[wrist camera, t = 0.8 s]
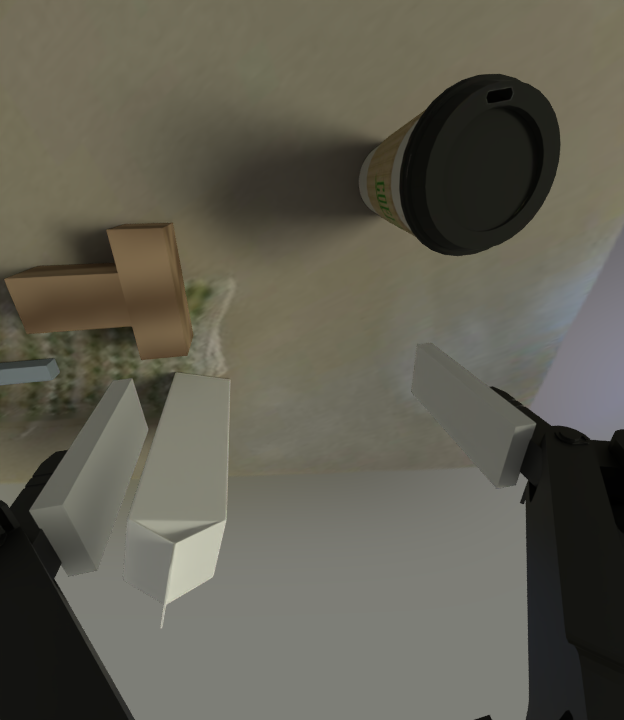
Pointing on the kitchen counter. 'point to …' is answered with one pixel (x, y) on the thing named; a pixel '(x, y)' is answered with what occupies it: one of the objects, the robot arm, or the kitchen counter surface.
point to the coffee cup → (467, 166)
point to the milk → (181, 492)
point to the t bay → (28, 371)
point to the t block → (114, 292)
